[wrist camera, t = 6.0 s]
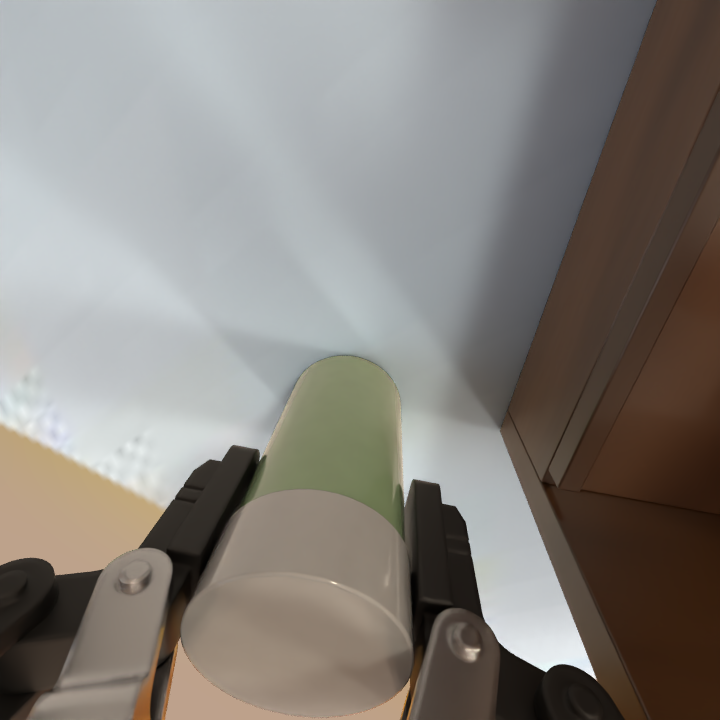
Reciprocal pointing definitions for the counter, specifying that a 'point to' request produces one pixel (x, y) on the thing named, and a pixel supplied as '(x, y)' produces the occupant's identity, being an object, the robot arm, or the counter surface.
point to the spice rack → (638, 387)
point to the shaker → (314, 558)
